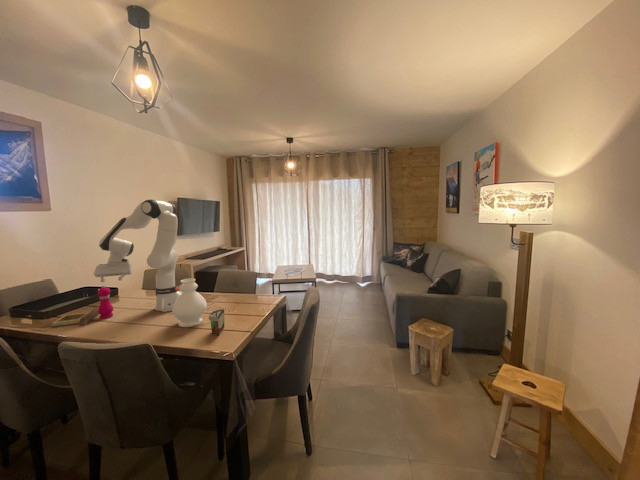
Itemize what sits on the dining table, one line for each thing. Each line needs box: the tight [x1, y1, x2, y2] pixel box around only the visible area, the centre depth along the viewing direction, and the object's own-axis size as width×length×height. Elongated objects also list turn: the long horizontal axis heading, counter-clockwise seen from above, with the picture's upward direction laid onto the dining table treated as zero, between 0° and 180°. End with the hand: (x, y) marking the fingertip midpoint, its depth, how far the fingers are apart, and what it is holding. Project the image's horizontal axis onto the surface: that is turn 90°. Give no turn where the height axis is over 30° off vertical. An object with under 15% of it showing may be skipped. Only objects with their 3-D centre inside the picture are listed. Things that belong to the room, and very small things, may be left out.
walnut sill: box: [79, 306, 100, 327], centre depth 157 cm, size 2×20×4 cm, turn 20°
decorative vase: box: [171, 277, 208, 328], centre depth 148 cm, size 18×18×25 cm
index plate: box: [51, 311, 90, 328], centre depth 154 cm, size 13×13×2 cm
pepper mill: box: [97, 284, 114, 320], centre depth 158 cm, size 7×7×20 cm
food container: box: [208, 308, 225, 336], centre depth 137 cm, size 12×6×10 cm, turn 5°
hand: (111, 280), depth 168 cm, fingers open, 8 cm apart
